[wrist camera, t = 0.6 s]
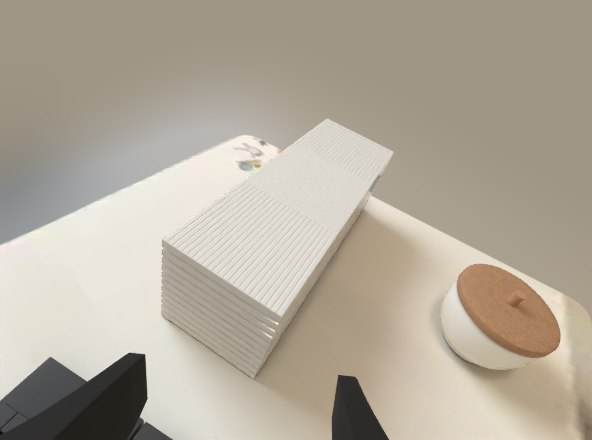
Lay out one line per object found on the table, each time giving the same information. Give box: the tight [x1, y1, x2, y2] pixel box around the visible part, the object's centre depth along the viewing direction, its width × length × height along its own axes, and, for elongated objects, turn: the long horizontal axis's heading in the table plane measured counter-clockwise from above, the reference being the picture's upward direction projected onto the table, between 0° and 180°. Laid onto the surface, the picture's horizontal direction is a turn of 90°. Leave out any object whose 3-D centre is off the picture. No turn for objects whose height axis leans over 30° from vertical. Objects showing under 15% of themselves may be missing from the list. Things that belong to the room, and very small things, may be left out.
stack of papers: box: [161, 119, 393, 379], centre depth 39 cm, size 32×11×11 cm, turn 152°
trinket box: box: [440, 264, 560, 370], centre depth 37 cm, size 11×11×9 cm
